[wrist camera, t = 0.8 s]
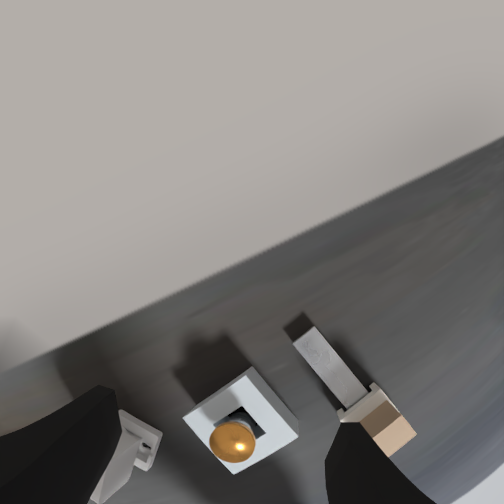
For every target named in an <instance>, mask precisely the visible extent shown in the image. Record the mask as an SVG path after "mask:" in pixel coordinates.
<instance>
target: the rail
mask: <svg viewBox="0 0 504 504" xmlns="http://www.w3.org/2000/svg"><path fill="white" fill-rule="evenodd" d="M293 345H294V346H295V347H296V349H297V350H298V351H299V352H300V354H301V355H302V356H303V357H304V358H305V360H306V361H307V362H308V363H309V364H310V366H311V367H312V368H313V369H314V370H315V372H316V373H317V374H318V375H319V376H320V378H321V379H322V380H323V381H324V382H325V384H326V385H327V386H328V387H329V388H330V390H331V391H332V392H333V393H334V394H335V396H336V397H337V398H338V399H339V400H340V401H341V403H342V404H343V405H344V406H345V407H346V409H347V410H348V409H350V408H351V407H352V406H354V405H355V404H356V403H358V402H359V401H360V400H361V399H363V398H364V397H365V396H366V395H367V394H369V393H368V391H367V390H366V389H365V388H364V386H363V385H362V384H361V383H360V382H359V380H358V379H357V378H356V377H355V375H354V374H353V373H352V372H351V370H350V369H349V368H348V367H347V366H346V364H345V363H344V362H343V361H342V359H341V358H340V357H339V356H338V355H337V353H336V352H335V351H334V350H333V348H332V347H331V346H330V345H329V343H328V342H327V341H326V340H325V339H324V337H323V336H322V335H321V334H320V332H319V331H318V330H317V329H316V328H315V326H314V325H313V326H312V327H311V328H310V329H308V330H307V331H306V332H305V333H303V334H302V335H301V336H300V337H298V338H297V339H296V340H295V341H293Z"/></svg>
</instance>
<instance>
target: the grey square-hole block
mask: <svg viewBox="0 0 504 504" xmlns="http://www.w3.org/2000/svg"><path fill="white" fill-rule="evenodd" d="M241 406H243V407H244V409H245V410H246V411H247V412H248V413H249V414H250V415H251V417H252V418H253V419H254V420H255V421H256V422H257V423H258V426H256V427H255V429H254V432H253V433H254V435H255V438H256V446H255V449H254V452H253V454H252V455H251V457H250V458H248V459H247V460H245V461H243V462H239V463H229V462H226V461H223V460H221V459H219V458H218V457H217V456H216V455H215V454H214V453H213V452H212V450H211V448H210V445H209V438H210V435H211V434H212V432H213V431H214V429H215V428H216V427H217V426H218V425H220V424H221V423H224V422H227V421H228V419H229V416H228V414H230V413H232V412H233V411H235V410H236V409H238V408H239V407H241ZM183 419H184V420H185V421H186V423H187V424H188V425H189V426H190V427H191V429H192V430H193V431H194V432H195V433H196V435H197V436H198V437H199V438H200V439H201V440H202V441H203V443H204V444H205V445H206V446H207V447H208V448H209V449H210V450H211V452H212V453H213V454H214V455H215V456H216V457H217V458H218V459H219V460H220V461H221V462H222V463H223V464H224V465H225V467H226V468H227V469H228V470H229V471H230V472H231V473H232V474H233V475H234V474H236V473H238V472H240V471H242V470H243V469H245V468H247V467H249V466H251V465H253V464H254V463H256V462H258V461H260V460H262V459H263V458H265V457H267V456H268V455H270V454H272V453H273V452H275V451H277V450H278V449H280V448H282V447H283V446H285V445H287V444H288V443H290V442H291V441H293V440H294V439H296V438H297V437H299V422H298V419H297V418H296V417H295V416H294V415H293V413H292V412H291V411H290V410H289V409H288V408H287V407H286V405H285V404H284V403H283V402H282V401H281V400H280V399H279V397H278V396H277V395H276V394H275V393H274V391H273V390H272V389H271V388H270V387H269V386H268V384H267V383H266V382H265V381H264V380H263V378H262V377H261V376H260V375H259V373H258V372H257V371H256V370H255V369H254V367H253V366H252V367H250V368H249V369H247V370H246V371H245V372H243V373H242V374H241V375H239V376H238V377H236V378H235V379H234V380H232V381H231V382H229V383H228V384H226V385H225V386H224V387H222V388H221V389H219V390H218V391H216V392H215V393H213V394H212V395H211V396H209V397H208V398H206V399H205V400H203V401H202V402H200V403H199V404H197V405H196V406H195V407H194V408H193V409H192V410H191V411H189V412H188V413H187V414H186V415H185V416H184V417H183Z"/></svg>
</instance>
